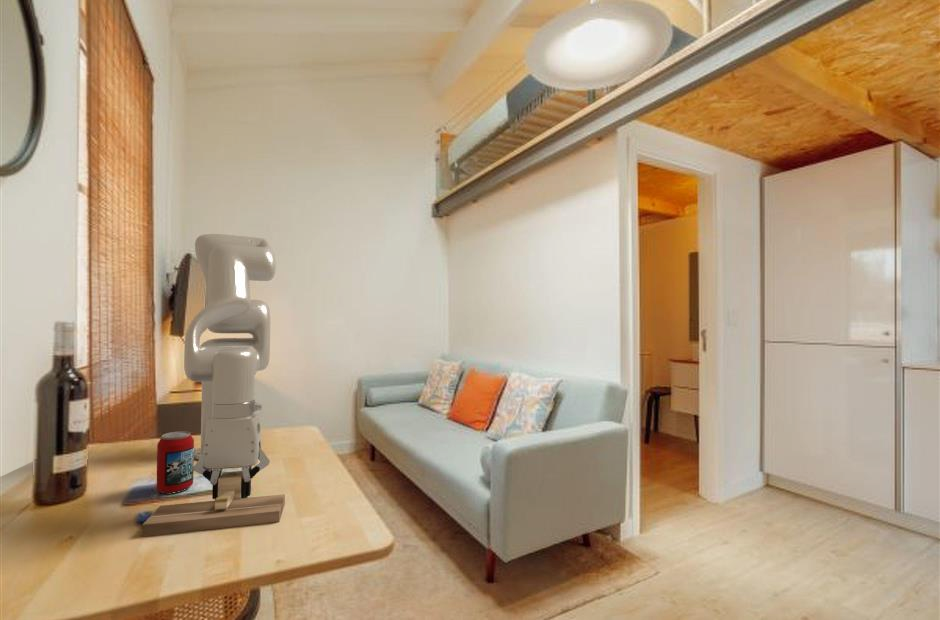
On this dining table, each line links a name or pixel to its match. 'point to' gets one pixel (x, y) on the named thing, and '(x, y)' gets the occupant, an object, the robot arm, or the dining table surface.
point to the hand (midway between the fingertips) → (231, 499)
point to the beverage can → (175, 462)
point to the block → (228, 489)
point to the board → (214, 515)
